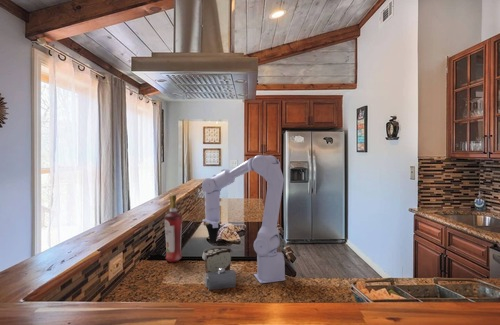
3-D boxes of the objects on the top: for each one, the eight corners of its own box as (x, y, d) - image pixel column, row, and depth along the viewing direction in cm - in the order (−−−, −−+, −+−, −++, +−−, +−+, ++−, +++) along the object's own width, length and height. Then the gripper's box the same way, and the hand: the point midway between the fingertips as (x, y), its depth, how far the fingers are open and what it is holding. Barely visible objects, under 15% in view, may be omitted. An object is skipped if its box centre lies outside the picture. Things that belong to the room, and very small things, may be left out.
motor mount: (232, 278, 105) (232, 261, 105) (237, 286, 97) (236, 268, 97) (204, 281, 102) (204, 264, 102) (207, 290, 95) (206, 271, 95)
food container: (223, 269, 114) (222, 243, 114) (233, 273, 109) (232, 246, 109) (195, 278, 105) (195, 250, 105) (205, 283, 101) (204, 254, 101)
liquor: (161, 260, 124) (160, 195, 124) (175, 256, 130) (174, 193, 129) (171, 264, 119) (170, 196, 119) (186, 259, 125) (185, 194, 125)
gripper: (200, 206, 122) (200, 238, 122) (204, 211, 108) (205, 248, 108) (217, 205, 124) (217, 237, 124) (223, 210, 110) (223, 246, 110)
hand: (213, 242), depth 116 cm, fingers closed
